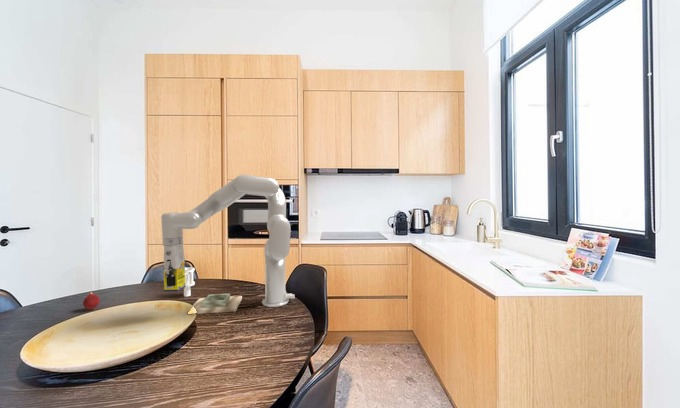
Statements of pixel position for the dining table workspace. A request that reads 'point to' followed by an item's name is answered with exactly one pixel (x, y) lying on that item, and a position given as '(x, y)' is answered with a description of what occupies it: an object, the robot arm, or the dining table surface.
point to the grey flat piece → (217, 303)
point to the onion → (91, 301)
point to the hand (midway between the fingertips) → (175, 282)
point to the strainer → (188, 281)
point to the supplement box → (179, 279)
